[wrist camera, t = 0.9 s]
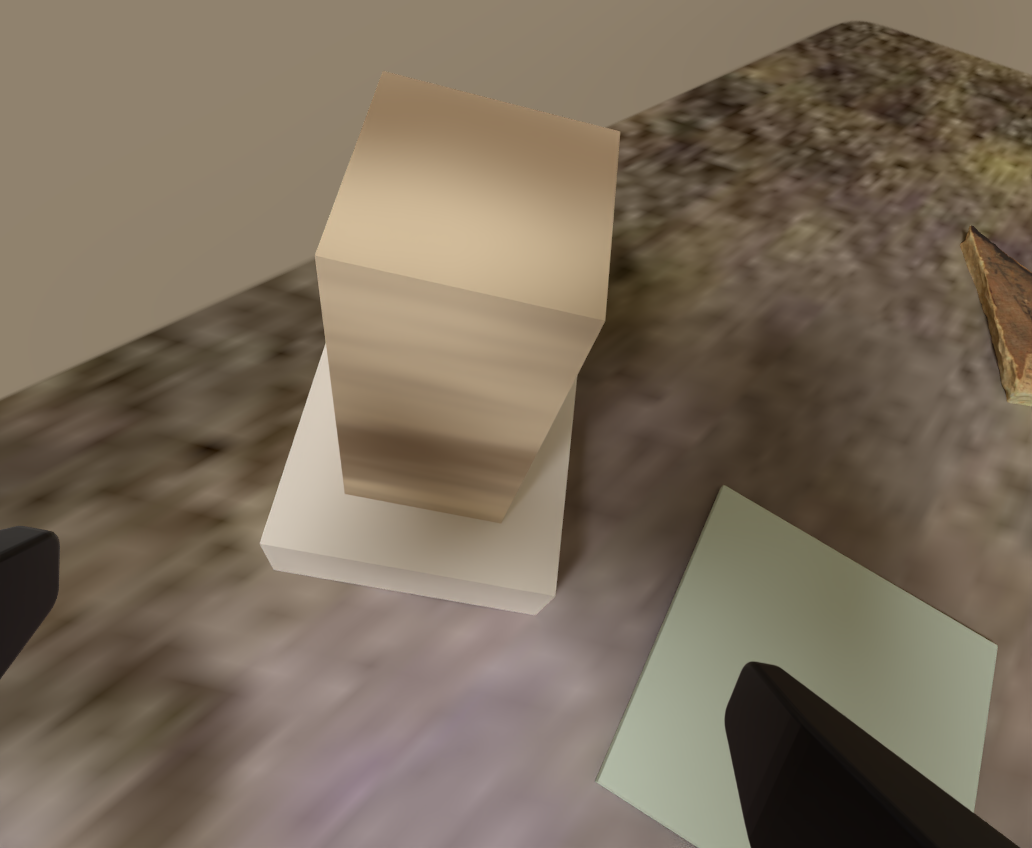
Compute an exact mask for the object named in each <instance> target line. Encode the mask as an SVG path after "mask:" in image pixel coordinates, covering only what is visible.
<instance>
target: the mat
mask: <svg viewBox="0 0 1032 848" xmlns="http://www.w3.org/2000/svg"><path fill="white" fill-rule="evenodd" d="M997 648H998V646H997V645H996V644H994V643H992V642H991V641H989V640H987V639H986V638H984V637H982V636H980V635H979V634H977V633H975V632H974V631H972V630H970V629H969V628H967V627H965V626H963V625H962V624H960V623H958V622H957V621H955V620H953V619H952V618H950V617H948V616H946V615H945V614H943V613H941V612H940V611H938V610H936V609H934V608H933V607H931V606H929V605H928V604H926V603H924V602H923V601H921V600H919V599H917V598H916V597H914V596H912V595H911V594H909V593H907V592H906V591H904V590H902V589H900V588H899V587H897V586H895V585H894V584H892V583H890V582H889V581H887V580H885V579H883V578H882V577H880V576H878V575H877V574H875V573H873V572H871V571H870V570H868V569H866V568H865V567H863V566H861V565H860V564H858V563H856V562H854V561H853V560H851V559H849V558H848V557H846V556H844V555H843V554H841V553H839V552H837V551H836V550H834V549H832V548H831V547H829V546H827V545H826V544H824V543H822V542H820V541H819V540H817V539H815V538H814V537H812V536H810V535H808V534H807V533H805V532H803V531H802V530H800V529H798V528H797V527H795V526H793V525H791V524H790V523H788V522H786V521H785V520H783V519H781V518H780V517H778V516H776V515H774V514H773V513H771V512H769V511H768V510H766V509H764V508H763V507H761V506H759V505H757V504H756V503H754V502H752V501H751V500H749V499H747V498H745V497H744V496H742V495H740V494H739V493H737V492H735V491H734V490H732V489H730V488H728V487H727V486H725V485H723V486H722V487H721V488H720V490H719V493H718V495H717V497H716V500H715V502H714V504H713V507H712V509H711V511H710V514H709V516H708V518H707V521H706V523H705V525H704V528H703V530H702V532H701V535H700V537H699V539H698V542H697V544H696V546H695V549H694V551H693V553H692V556H691V558H690V560H689V563H688V565H687V567H686V570H685V572H684V574H683V577H682V579H681V582H680V584H679V586H678V589H677V591H676V593H675V596H674V598H673V600H672V603H671V605H670V607H669V610H668V612H667V614H666V617H665V619H664V621H663V624H662V626H661V628H660V631H659V633H658V635H657V638H656V640H655V642H654V645H653V647H652V649H651V652H650V654H649V656H648V659H647V661H646V663H645V666H644V668H643V670H642V673H641V675H640V677H639V680H638V682H637V684H636V687H635V689H634V691H633V694H632V696H631V698H630V701H629V703H628V705H627V708H626V710H625V713H624V715H623V717H622V720H621V722H620V724H619V727H618V729H617V731H616V734H615V736H614V738H613V741H612V743H611V745H610V748H609V750H608V752H607V755H606V757H605V759H604V762H603V764H602V766H601V769H600V771H599V773H598V776H597V778H596V780H595V782H596V783H598V784H600V785H601V786H603V787H604V788H606V789H607V790H609V791H610V792H612V793H614V794H615V795H617V796H618V797H620V798H621V799H623V800H624V801H626V802H628V803H629V804H631V805H632V806H634V807H635V808H637V809H638V810H640V811H642V812H643V813H645V814H646V815H648V816H649V817H651V818H652V819H654V820H656V821H657V822H659V823H660V824H662V825H663V826H665V827H666V828H668V829H670V830H671V831H673V832H674V833H676V834H677V835H679V836H680V837H682V838H684V839H685V840H687V841H688V842H690V843H691V844H693V845H694V846H696V847H698V848H751V847H750V843H749V840H748V836H747V831H746V827H745V823H744V818H743V813H742V809H741V804H740V799H739V794H738V789H737V784H736V779H735V775H734V770H733V765H732V760H731V755H730V750H729V745H728V740H727V736H726V731H725V722H724V718H725V711H726V707H727V704H728V702H729V699H730V697H731V694H732V692H733V690H734V687H735V685H736V682H737V680H738V677H739V675H740V672H741V670H742V668H743V667H744V665H745V664H746V663H748V662H751V661H755V662H761V663H766V664H772V665H776V666H779V667H780V668H782V669H783V670H785V671H786V672H787V673H789V674H790V675H791V676H792V677H794V678H795V679H796V680H798V681H799V682H800V683H802V684H803V685H804V686H806V687H807V688H808V689H810V690H811V691H812V692H814V693H815V694H816V695H818V696H819V697H820V698H822V699H823V700H824V701H826V702H827V703H828V704H830V705H831V706H832V707H834V708H835V709H836V710H838V711H839V712H840V713H842V714H843V715H844V716H846V717H847V718H848V719H850V720H851V721H852V722H854V723H855V724H856V725H858V726H859V727H860V728H862V729H863V730H864V731H866V732H867V733H868V734H870V735H871V736H872V737H874V738H875V739H876V740H878V741H879V742H880V743H882V744H883V745H884V746H885V747H887V748H888V749H889V750H891V751H892V752H893V753H895V754H896V755H897V756H899V757H900V758H901V759H903V760H904V761H905V762H907V763H908V764H909V765H911V766H912V767H913V768H915V769H916V770H917V771H919V772H920V773H921V774H923V775H924V776H925V777H927V778H928V779H929V780H931V781H932V782H933V783H935V784H936V785H937V786H939V787H940V788H941V789H943V790H944V791H945V792H947V793H948V794H949V795H951V796H952V797H953V798H955V799H956V800H957V801H959V802H960V803H961V804H963V805H964V806H965V807H967V808H968V809H969V810H971V811H972V812H973V813H974V809H975V802H976V795H977V788H978V781H979V774H980V767H981V760H982V753H983V746H984V739H985V732H986V725H987V718H988V711H989V704H990V697H991V690H992V683H993V676H994V669H995V662H996V655H997Z"/></svg>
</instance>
